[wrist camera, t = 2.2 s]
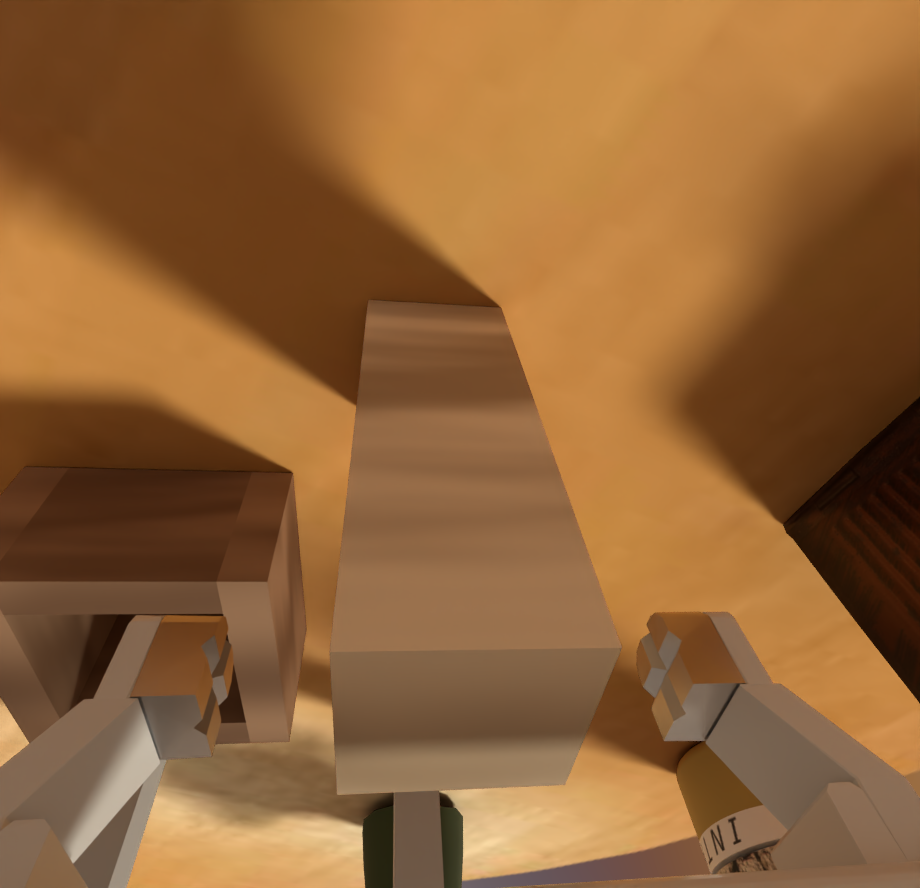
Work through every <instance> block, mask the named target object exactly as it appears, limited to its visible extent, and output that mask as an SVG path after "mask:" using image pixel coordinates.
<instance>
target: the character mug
mask: <svg viewBox="0 0 920 888" xmlns="http://www.w3.org/2000/svg"><path fill="white" fill-rule="evenodd" d="M440 818H441V837H442V857H443V876H444V888H461V885H462V863H463V816H462V815H461V814H460V812H459V811H458V810H457V809H456V808H449V807H440ZM393 823H394V806H390V807H386V808H382V809H378V810H375V811H374V812H373V813H371V814H370V815H369V816H368V817H367V818H366V819H364V823H363V832H362V833H363V861H364V876H365V888H393Z"/></svg>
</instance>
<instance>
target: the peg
mask: <svg viewBox="0 0 920 888" xmlns="http://www.w3.org/2000/svg"><path fill="white" fill-rule="evenodd" d="M621 649H622V647H621V644H620V641H619V638H618V635H617V633H616V630H615V627H614V624H613V621H612V618H611V616H610V613H609V610H608V607H607V604H606V602H605V599H604V596H603V593H602V590H601V588H600V585H599V582H598V579H597V576H596V573H595V571H594V568H593V565H592V562H591V559H590V557H589V554H588V551H587V548H586V545H585V542H584V540H583V537H582V534H581V531H580V528H579V526H578V523H577V520H576V517H575V514H574V512H573V509H572V506H571V503H570V500H569V497H568V495H567V492H566V489H565V486H564V483H563V481H562V478H561V475H560V472H559V469H558V466H557V464H556V461H555V458H554V455H553V452H552V450H551V447H550V444H549V441H548V438H547V436H546V433H545V430H544V427H543V424H542V421H541V419H540V416H539V413H538V410H537V407H536V405H535V402H534V399H533V396H532V393H531V390H530V388H529V385H528V382H527V379H526V376H525V374H524V371H523V368H522V365H521V362H520V360H519V357H518V354H517V351H516V348H515V345H514V343H513V340H512V337H511V334H510V331H509V329H508V326H507V323H506V320H505V317H504V314H503V312H502V309H501V308H500V307H483V306H466V305H449V304H432V303H415V302H398V301H381V300H368V306H367V315H366V324H365V333H364V342H363V352H362V361H361V370H360V379H359V388H358V397H357V406H356V415H355V425H354V434H353V443H352V452H351V461H350V470H349V479H348V488H347V498H346V507H345V516H344V525H343V534H342V543H341V552H340V561H339V571H338V580H337V589H336V598H335V607H334V616H333V625H332V635H331V644H330V670H331V689H332V708H333V727H334V746H335V765H336V784H337V795H348V794H371V793H393V792H416V791H439V790H461V789H484V788H506V787H529V786H551V785H565V784H566V781H567V779H568V776H569V774H570V772H571V769H572V767H573V764H574V762H575V760H576V757H577V755H578V752H579V750H580V747H581V745H582V743H583V740H584V738H585V735H586V733H587V731H588V728H589V726H590V723H591V721H592V719H593V716H594V714H595V711H596V709H597V707H598V704H599V702H600V699H601V697H602V694H603V692H604V690H605V687H606V685H607V682H608V680H609V678H610V675H611V673H612V670H613V668H614V666H615V663H616V661H617V658H618V656H619V654H620V651H621Z"/></svg>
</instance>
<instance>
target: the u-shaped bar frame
mask: <svg viewBox="0 0 920 888" xmlns="http://www.w3.org/2000/svg"><path fill="white" fill-rule="evenodd" d="M165 763H166V760H160V764H159V765H158V766H157V768H156V769H155V770H154V771H153V772H152V773H151V775H150V776H149V777H148V778H147V779H146V780H145V781H144V783H143V784H142V785H141V786H140V787H139V788H138V790H137V791H136V792H135V793H134V794H133V795H132V796H131V798H130V799H129V800H128V801H127V802H126V803H125V805H124V806H123V807H122V808H121V809H120V810H119V811H118V813H117V814H116V815H115V816H114V817H113V818H112V820H111V821H110V822H109V823H108V824H107V825H106V827H105V828H104V829H103V830H102V831H101V832H100V833H99V835H98V836H97V837H96V838H95V839H94V840H93V842H92V843H91V844H90V845H89V846H88V847H87V848H86V850H85V851H84V852H83V853H82V854H81V855H80V857H79V858H78V859H77V860H76V861H75V862H74V863H73V864H74V866H75V867H76V869H77V871H78V872H79V874H80V875H81V877H82V879H83V880H84V882H85V883H86V885H87V887H88V888H126V887H127V884H128V881H129V878H130V875H131V871H132V868H133V865H134V862H135V859H136V856H137V852H138V849H139V846H140V843H141V840H142V837H143V833H144V830H145V827H146V824H147V821H148V817H149V814H150V811H151V808H152V805H153V802H154V798H155V795H156V792H157V789H158V786H159V783H160V779H161V776H162V773H163V770H164V767H165ZM393 888H444V876H443V857H442V837H441V818H440V798H439V791H416V792H394V823H393Z"/></svg>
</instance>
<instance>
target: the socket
mask: <svg viewBox="0 0 920 888" xmlns="http://www.w3.org/2000/svg"><path fill="white" fill-rule="evenodd" d="M136 615H180V616H224V617H226V619H227V624H228V628H229V629H228V633H227V636H226V641H228V642H229V643H230V644H232V650H233V672H232V680H231V685H230V689H229V693H228V697H227V698H226V699H225V700H224V701H223V702H222V703H221V704H220V705H219V711H220V716H221V724H220V728H219V731H218V735H217V739H216V743H215V744H235V743H266V742H289V741H290V734H291V727H292V721H293V714H294V708H295V701H296V695H297V688H298V682H299V675H300V669H301V662H302V655H303V649H304V642H305V636H306V618H305V606H304V595H303V583H302V571H301V560H300V548H299V537H298V525H297V514H296V502H295V491H294V479H293V473H274V472H230V471H187V470H143V469H99V468H56V467H24V468H23V469H22V470H21V471H20V473H19V474H18V475H17V476H16V477H15V478H14V480H13V481H12V482H11V483H10V484H9V486H8V487H7V488H6V489H5V490H4V492H3V493H2V494H1V495H0V697H1V699H2V700H3V702H4V703H5V705H6V707H7V708H8V710H9V711H10V713H11V714H12V716H13V718H14V719H15V721H16V722H17V724H18V726H19V727H20V729H21V730H22V732H23V734H24V735H25V737H26V738H27V740H28V742H29V743H31V742H32V741H33V740H34V739H36V738H37V737H38V736H39V735H41V734H42V733H43V732H44V731H46V730H47V729H48V728H49V727H50V726H52V725H53V724H54V723H55V722H57V721H58V720H59V719H60V718H62V717H63V716H64V715H65V714H66V713H68V712H69V711H70V710H71V709H73V708H74V707H75V706H76V705H78V704H79V703H80V702H81V701H82V700H84V699H93V698H94V696H95V694H96V692H97V690H98V688H99V686H100V683H101V681H102V679H103V677H104V675H105V673H106V671H107V669H108V666H109V664H110V662H111V660H112V658H113V656H114V654H115V652H116V649H117V647H118V645H119V643H120V641H121V639H122V637H123V635H124V632H125V630H126V628H127V626H128V624H129V623H130V621H131V620H132V619H133V618H134V617H135V616H136Z"/></svg>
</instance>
